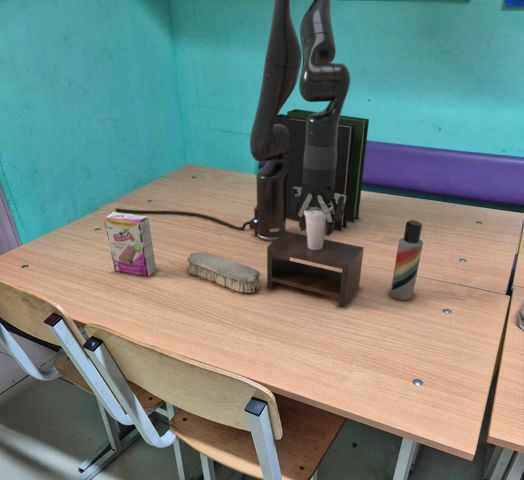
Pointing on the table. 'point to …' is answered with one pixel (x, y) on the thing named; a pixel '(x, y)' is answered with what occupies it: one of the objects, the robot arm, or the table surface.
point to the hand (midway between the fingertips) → (316, 232)
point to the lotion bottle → (407, 261)
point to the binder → (347, 164)
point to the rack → (313, 276)
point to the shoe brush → (224, 272)
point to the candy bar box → (130, 243)
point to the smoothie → (315, 227)
